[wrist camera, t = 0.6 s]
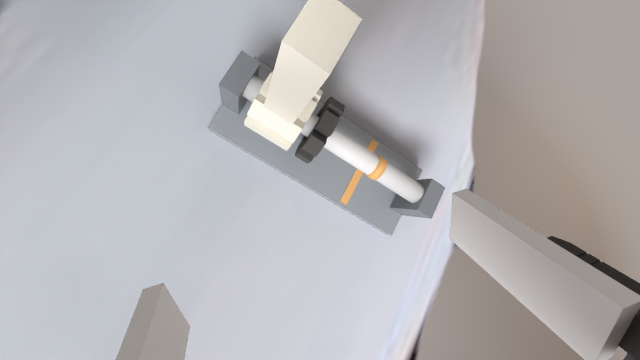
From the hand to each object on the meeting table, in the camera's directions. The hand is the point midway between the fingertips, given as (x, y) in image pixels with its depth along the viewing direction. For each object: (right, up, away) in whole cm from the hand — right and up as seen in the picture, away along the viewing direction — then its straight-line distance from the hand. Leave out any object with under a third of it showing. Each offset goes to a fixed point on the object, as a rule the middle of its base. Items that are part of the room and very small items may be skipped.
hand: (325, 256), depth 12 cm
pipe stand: (0, +7, +23) cm, 24 cm away
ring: (-1, +9, +20) cm, 22 cm away
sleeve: (-5, +11, +19) cm, 23 cm away
